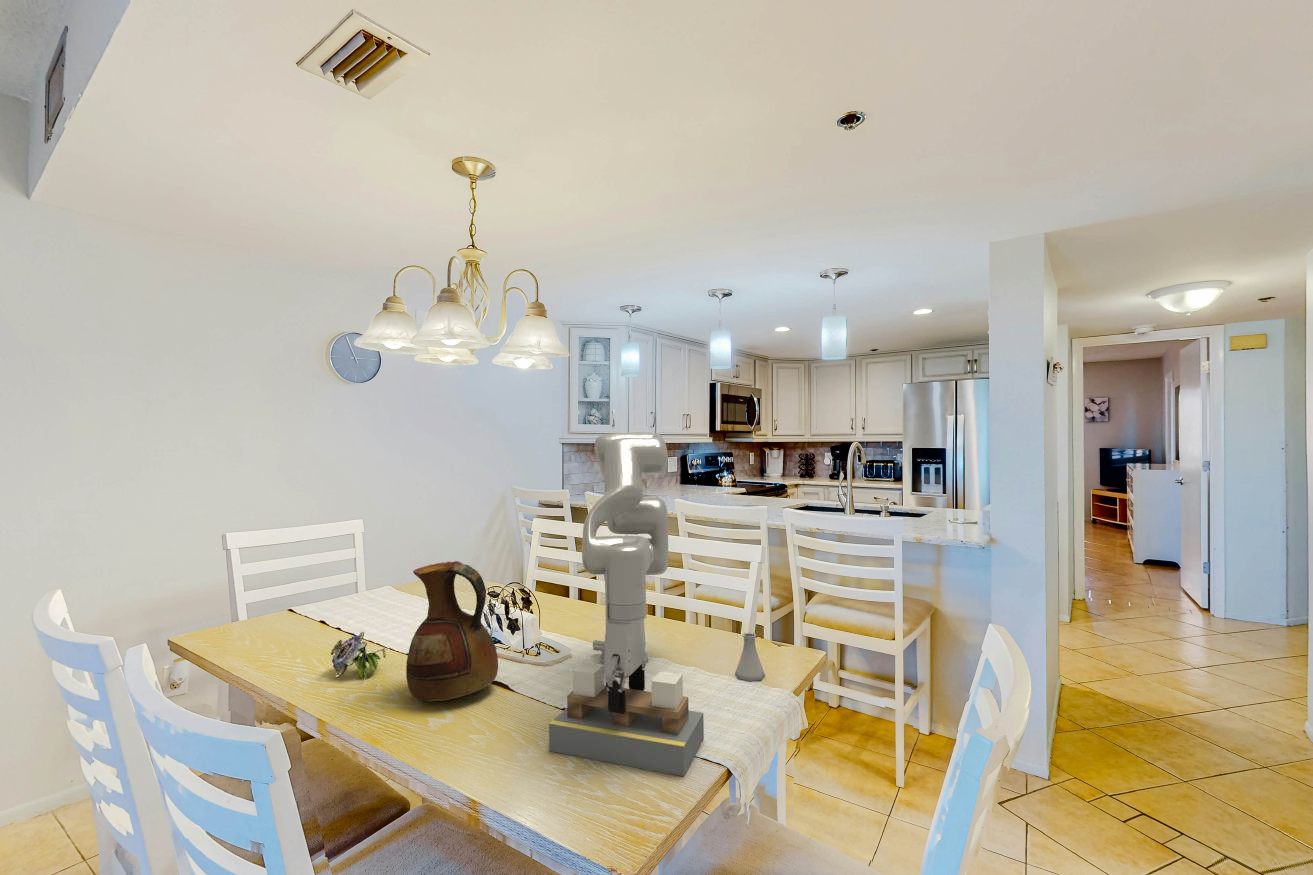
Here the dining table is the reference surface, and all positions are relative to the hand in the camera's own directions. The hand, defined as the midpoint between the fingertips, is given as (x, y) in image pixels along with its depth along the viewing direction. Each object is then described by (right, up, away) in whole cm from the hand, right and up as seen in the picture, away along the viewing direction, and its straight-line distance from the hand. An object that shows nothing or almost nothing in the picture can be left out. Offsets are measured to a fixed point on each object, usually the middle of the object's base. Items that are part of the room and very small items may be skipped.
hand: (627, 700), depth 108 cm
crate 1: (-8, +1, +3) cm, 8 cm away
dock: (0, -8, 0) cm, 8 cm away
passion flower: (-70, -10, +36) cm, 79 cm away
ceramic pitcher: (-41, -9, +24) cm, 48 cm away
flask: (+28, -9, +31) cm, 43 cm away
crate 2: (+8, +1, -3) cm, 8 cm away
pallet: (0, -3, 0) cm, 3 cm away
